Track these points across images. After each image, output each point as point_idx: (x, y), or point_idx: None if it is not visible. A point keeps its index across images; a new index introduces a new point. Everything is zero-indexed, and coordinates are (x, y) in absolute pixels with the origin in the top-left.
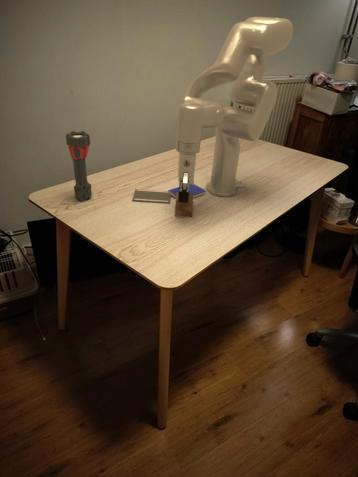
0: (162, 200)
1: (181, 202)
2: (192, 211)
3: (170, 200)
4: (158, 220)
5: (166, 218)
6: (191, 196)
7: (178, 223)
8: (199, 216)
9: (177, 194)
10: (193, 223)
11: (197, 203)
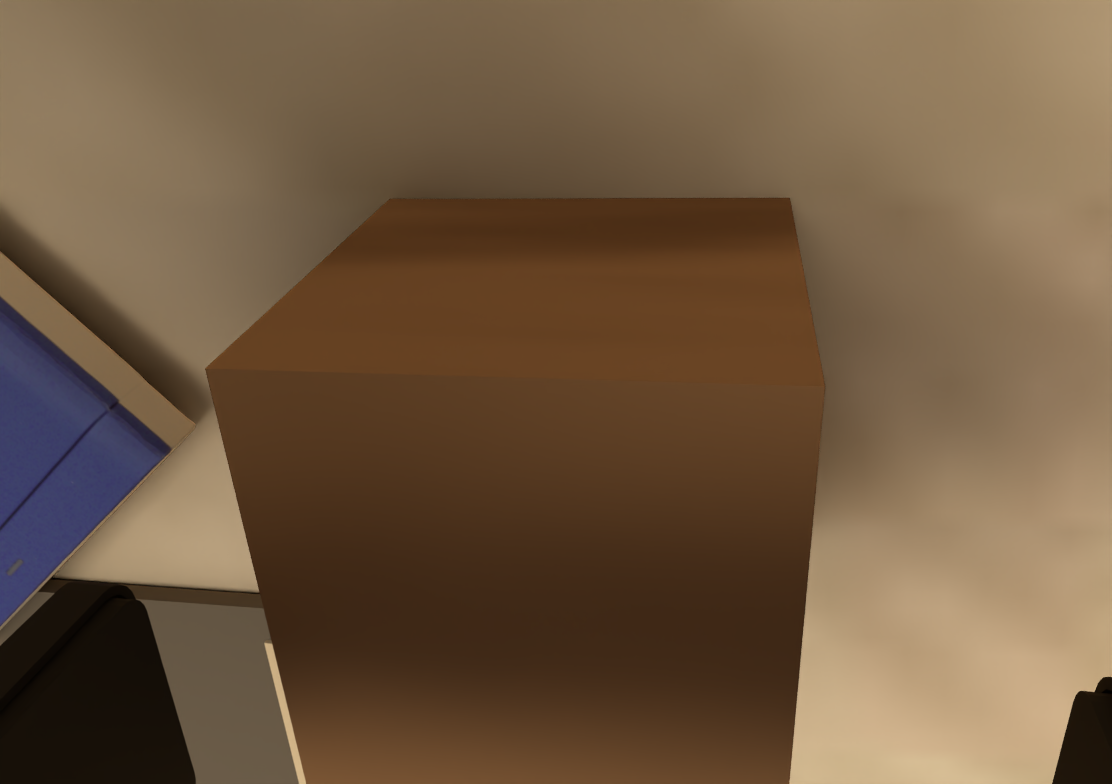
0: (275, 717)
1: (796, 684)
2: (799, 252)
3: (215, 598)
4: (942, 775)
5: (868, 666)
6: (406, 431)
7: (1073, 480)
8: (740, 4)
9: (392, 768)
10: (1100, 162)
11: (111, 64)
